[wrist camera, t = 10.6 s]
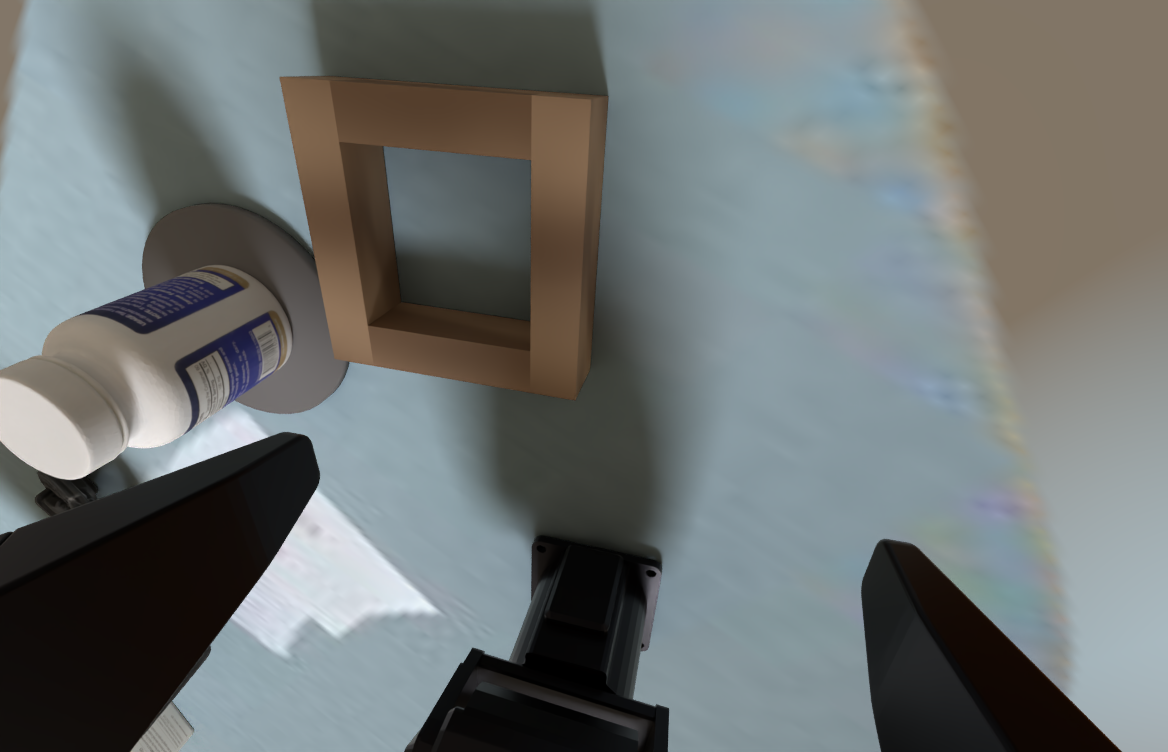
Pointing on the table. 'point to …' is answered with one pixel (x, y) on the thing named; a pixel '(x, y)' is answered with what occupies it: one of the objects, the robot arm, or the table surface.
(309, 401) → the mat
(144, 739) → the skincare box
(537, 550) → the robot arm
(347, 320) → the collar block
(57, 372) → the pill bottle
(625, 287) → the table surface
